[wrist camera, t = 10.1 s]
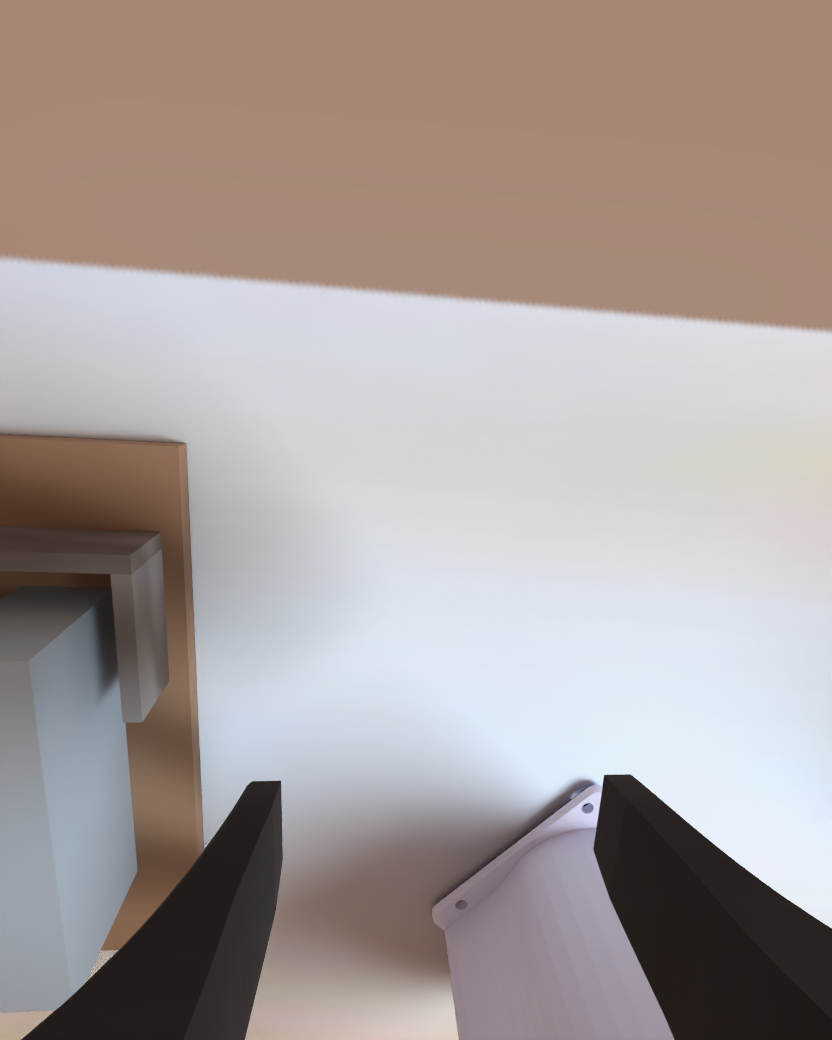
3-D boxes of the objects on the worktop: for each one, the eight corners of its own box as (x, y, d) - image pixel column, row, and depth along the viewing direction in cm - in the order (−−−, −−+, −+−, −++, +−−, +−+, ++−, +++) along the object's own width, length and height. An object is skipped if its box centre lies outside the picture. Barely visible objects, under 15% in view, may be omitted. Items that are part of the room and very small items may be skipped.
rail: (137, 870, 22) (73, 1009, 17) (57, 872, 22) (-31, 1013, 17) (114, 588, 19) (28, 661, 14) (21, 585, 19) (-98, 659, 14)
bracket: (207, 929, 24) (182, 1013, 21) (20, 934, 23) (-34, 1022, 20) (186, 443, 19) (148, 458, 16) (-56, 431, 18) (-146, 444, 15)
